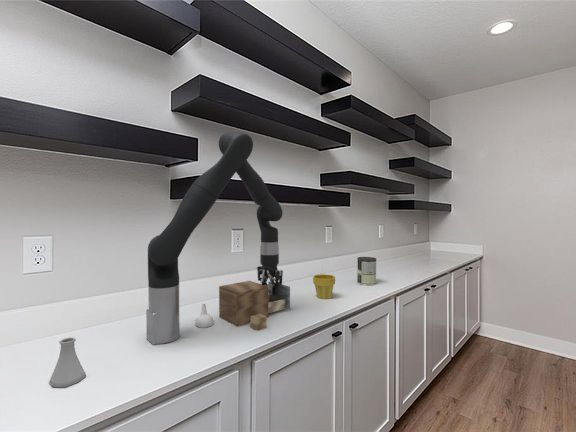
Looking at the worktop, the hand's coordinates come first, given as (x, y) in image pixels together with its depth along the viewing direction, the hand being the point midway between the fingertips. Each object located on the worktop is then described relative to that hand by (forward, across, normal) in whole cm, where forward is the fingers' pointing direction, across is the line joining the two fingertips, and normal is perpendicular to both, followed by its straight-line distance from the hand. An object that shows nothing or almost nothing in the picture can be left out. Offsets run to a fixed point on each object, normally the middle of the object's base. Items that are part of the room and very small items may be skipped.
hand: (269, 293), depth 130 cm
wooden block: (+7, -12, +14) cm, 20 cm away
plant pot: (+7, -2, -31) cm, 32 cm away
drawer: (+6, 0, +1) cm, 6 cm away
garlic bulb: (+7, +3, +28) cm, 29 cm away
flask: (+7, -8, +70) cm, 70 cm away
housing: (+7, 0, +13) cm, 14 cm away
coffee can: (+8, 0, -69) cm, 70 cm away
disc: (-1, 0, 0) cm, 1 cm away
